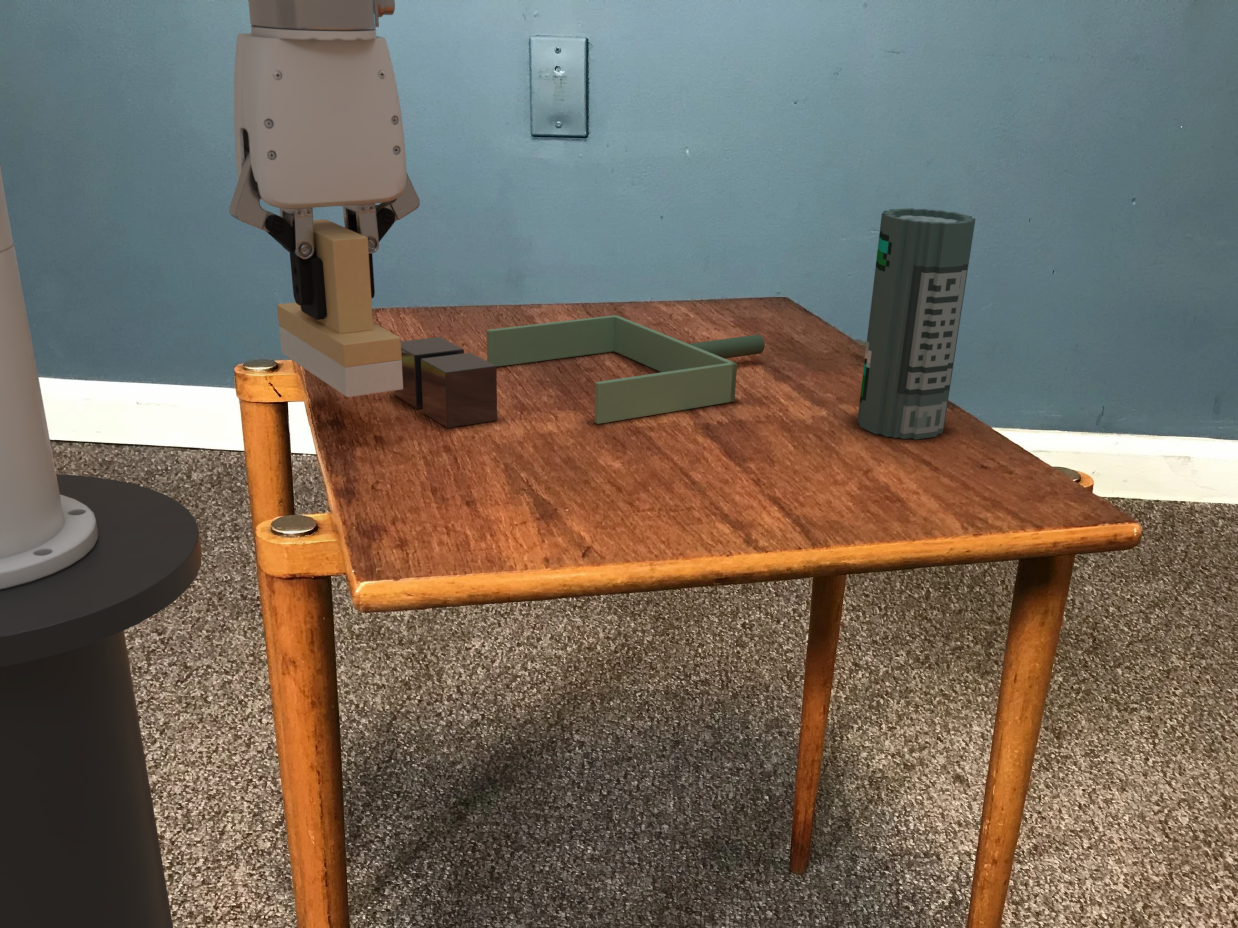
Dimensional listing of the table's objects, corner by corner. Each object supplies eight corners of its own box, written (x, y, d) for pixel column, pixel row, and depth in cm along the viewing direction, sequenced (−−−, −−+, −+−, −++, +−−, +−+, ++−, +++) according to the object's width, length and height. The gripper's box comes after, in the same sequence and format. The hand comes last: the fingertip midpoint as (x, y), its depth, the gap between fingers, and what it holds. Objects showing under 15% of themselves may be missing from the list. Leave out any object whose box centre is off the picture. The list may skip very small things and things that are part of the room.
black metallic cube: (416, 409, 95) (414, 355, 93) (393, 394, 98) (390, 342, 96) (465, 402, 97) (464, 349, 96) (441, 388, 100) (440, 336, 98)
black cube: (447, 428, 92) (445, 372, 90) (422, 413, 95) (420, 358, 93) (497, 420, 94) (496, 365, 92) (471, 405, 97) (470, 352, 95)
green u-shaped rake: (597, 424, 94) (598, 383, 93) (486, 366, 106) (486, 329, 105) (822, 387, 105) (826, 350, 104) (699, 338, 117) (701, 304, 116)
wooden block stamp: (347, 397, 85) (335, 248, 81) (281, 353, 94) (267, 215, 89) (403, 389, 87) (395, 243, 83) (334, 346, 96) (323, 212, 91)
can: (907, 410, 101) (934, 207, 94) (958, 433, 96) (991, 221, 89) (843, 418, 98) (866, 210, 91) (892, 442, 93) (921, 225, 86)
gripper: (407, 10, 87) (420, 290, 95) (160, 5, 78) (199, 313, 87) (459, 16, 81) (467, 313, 90) (199, 12, 73) (237, 339, 82)
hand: (335, 310), depth 88 cm, fingers closed on wooden block stamp, 2 cm apart
